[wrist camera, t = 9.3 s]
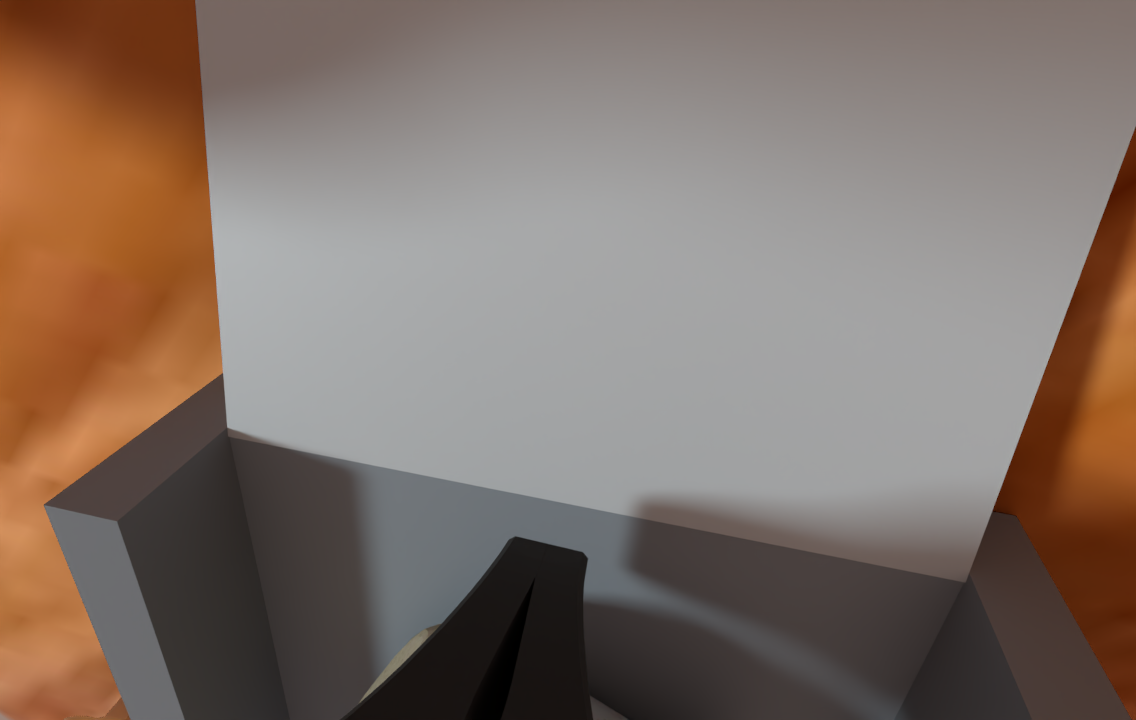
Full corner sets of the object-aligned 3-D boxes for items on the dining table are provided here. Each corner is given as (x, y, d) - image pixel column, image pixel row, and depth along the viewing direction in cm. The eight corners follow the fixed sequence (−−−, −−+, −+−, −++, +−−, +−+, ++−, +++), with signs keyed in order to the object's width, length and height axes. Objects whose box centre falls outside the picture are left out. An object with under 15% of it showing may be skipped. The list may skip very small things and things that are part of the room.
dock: (320, 735, 25) (214, 926, 20) (134, -284, 11) (-377, -533, 6) (810, 864, 22) (835, 1123, 17) (1364, -254, 9) (2346, -648, 3)
